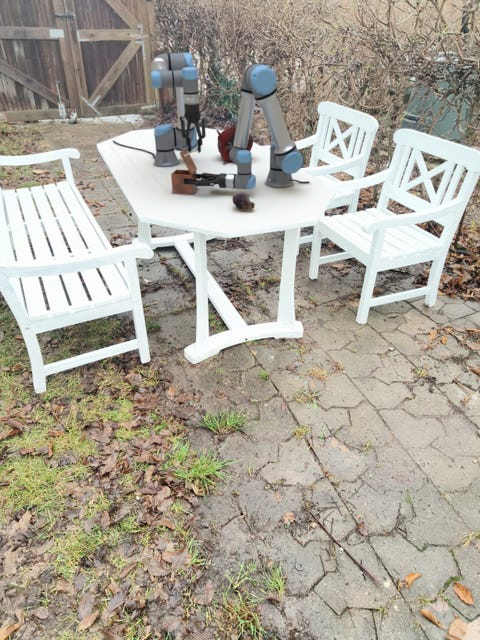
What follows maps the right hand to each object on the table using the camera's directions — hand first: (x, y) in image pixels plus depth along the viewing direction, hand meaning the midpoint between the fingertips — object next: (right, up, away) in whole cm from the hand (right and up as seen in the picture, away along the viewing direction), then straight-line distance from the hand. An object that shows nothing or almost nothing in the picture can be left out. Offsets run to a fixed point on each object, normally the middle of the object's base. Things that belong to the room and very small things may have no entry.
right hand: (186, 178), depth 245 cm
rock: (+30, -21, -19) cm, 42 cm away
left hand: (+5, +11, -9) cm, 15 cm away
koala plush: (-10, +48, +83) cm, 96 cm away
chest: (-1, -6, +4) cm, 7 cm away
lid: (+1, +7, -5) cm, 9 cm away
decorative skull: (+26, +31, +57) cm, 70 cm away
